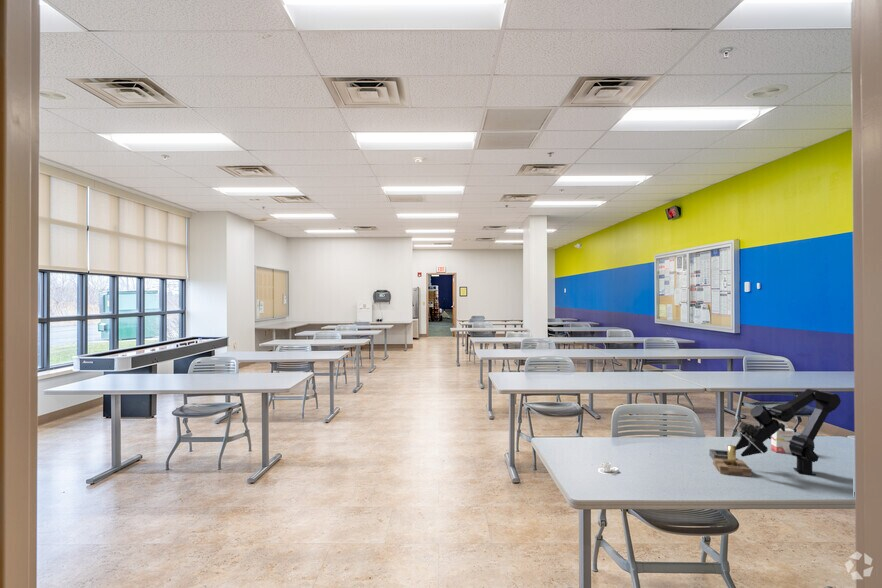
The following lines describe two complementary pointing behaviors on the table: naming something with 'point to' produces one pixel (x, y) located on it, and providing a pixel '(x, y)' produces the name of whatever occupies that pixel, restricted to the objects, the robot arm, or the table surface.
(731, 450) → the brass cylinder
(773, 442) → the ink cartridge box
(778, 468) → the table surface
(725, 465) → the wooden square frame
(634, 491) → the table surface
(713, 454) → the socket block
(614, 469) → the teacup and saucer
